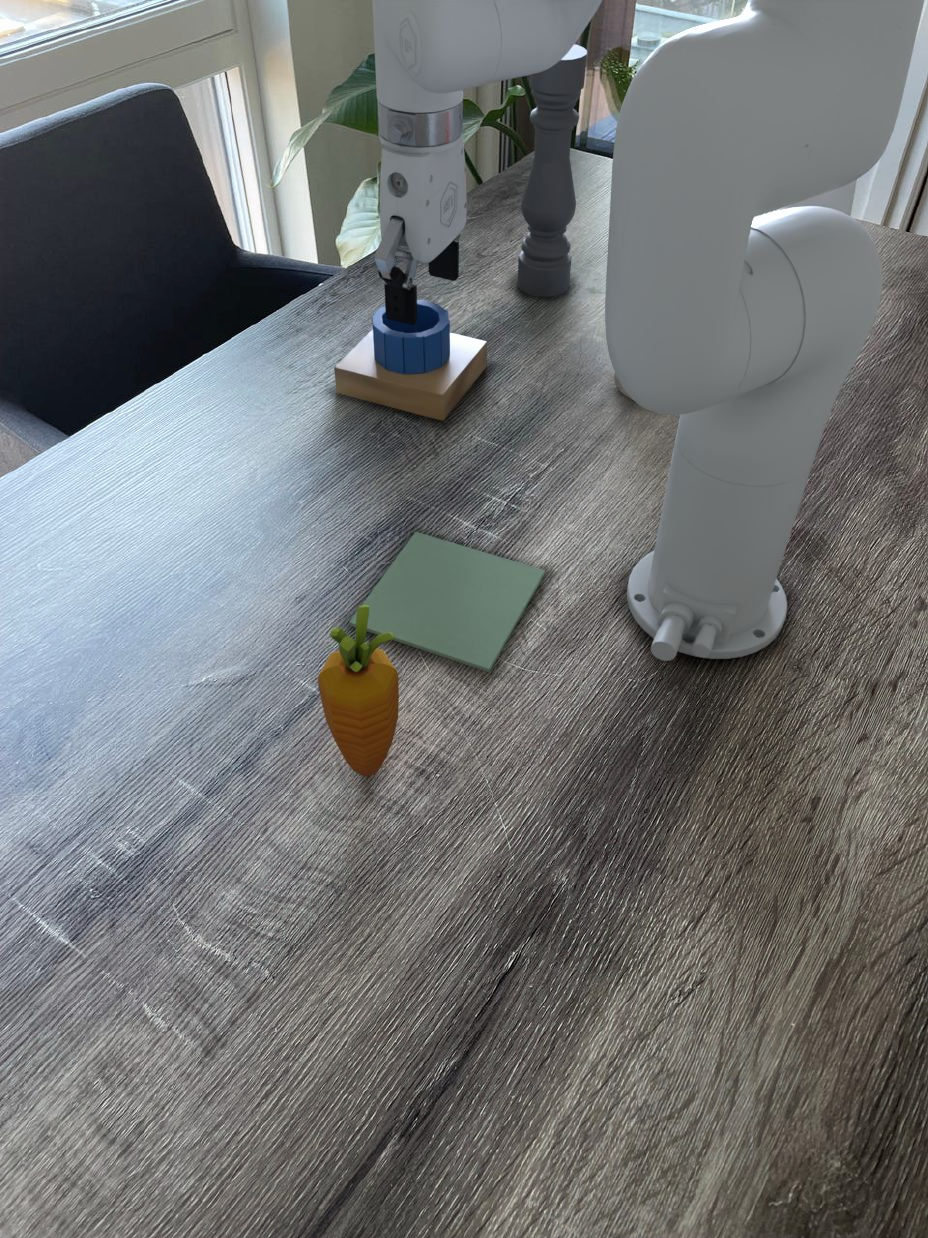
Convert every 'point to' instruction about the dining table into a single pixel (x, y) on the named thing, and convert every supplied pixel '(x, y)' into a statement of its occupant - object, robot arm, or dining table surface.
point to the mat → (451, 600)
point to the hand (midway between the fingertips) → (423, 298)
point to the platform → (412, 378)
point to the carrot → (360, 697)
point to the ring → (412, 340)
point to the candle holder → (551, 178)
